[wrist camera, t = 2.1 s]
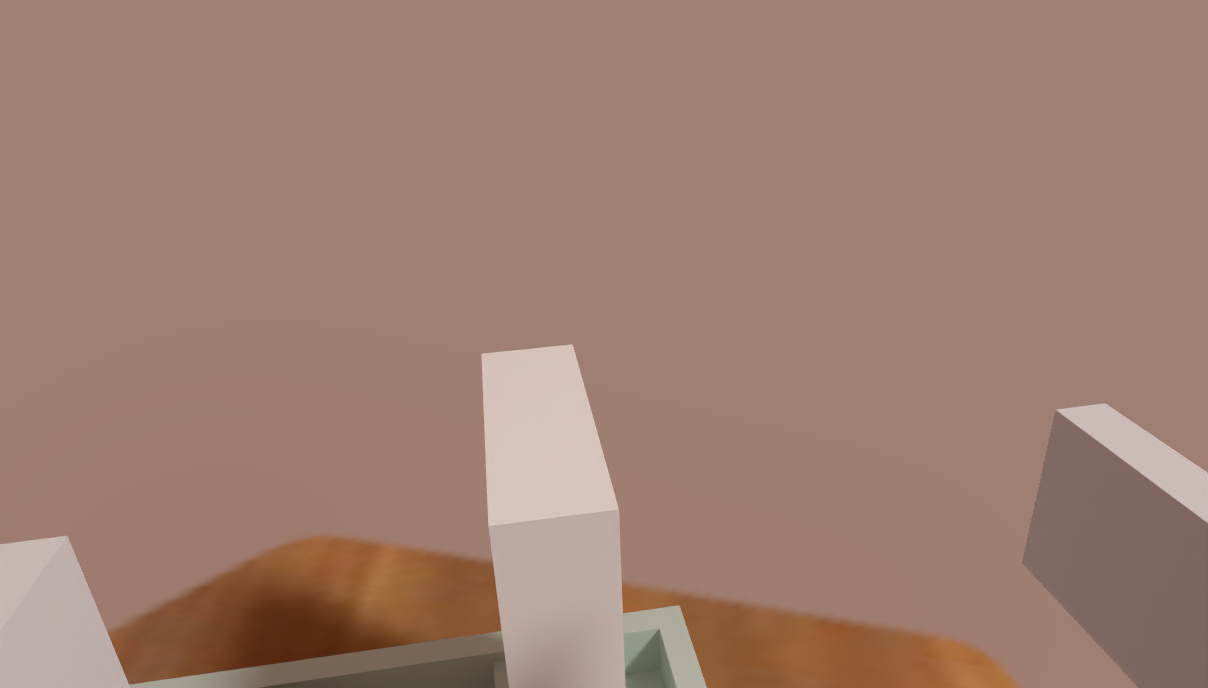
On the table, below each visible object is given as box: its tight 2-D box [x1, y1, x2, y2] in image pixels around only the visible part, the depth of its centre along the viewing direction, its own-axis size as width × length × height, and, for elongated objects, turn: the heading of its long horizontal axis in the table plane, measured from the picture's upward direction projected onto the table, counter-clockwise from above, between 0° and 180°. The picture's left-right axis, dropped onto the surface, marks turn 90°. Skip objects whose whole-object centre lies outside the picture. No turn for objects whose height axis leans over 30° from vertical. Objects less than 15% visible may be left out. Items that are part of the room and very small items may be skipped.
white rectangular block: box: [482, 345, 626, 688], centre depth 26 cm, size 3×9×18 cm, turn 9°
